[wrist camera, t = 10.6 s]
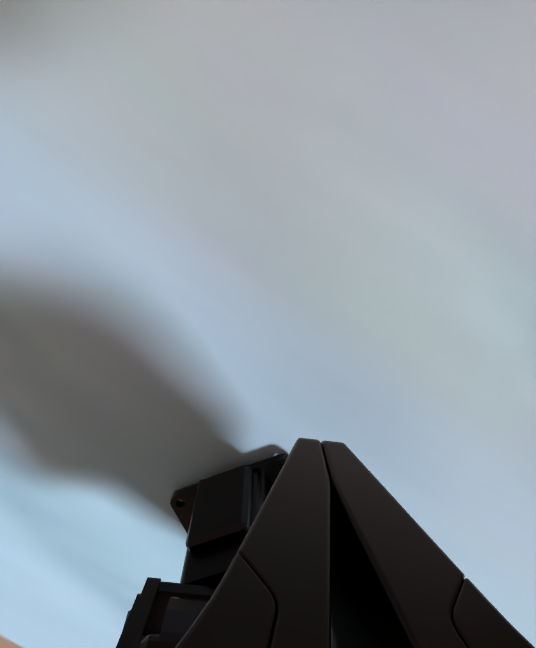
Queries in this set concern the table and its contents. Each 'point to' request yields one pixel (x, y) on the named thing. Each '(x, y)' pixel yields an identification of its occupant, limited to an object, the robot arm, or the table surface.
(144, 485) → the table surface
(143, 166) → the table surface
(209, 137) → the table surface
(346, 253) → the table surface
